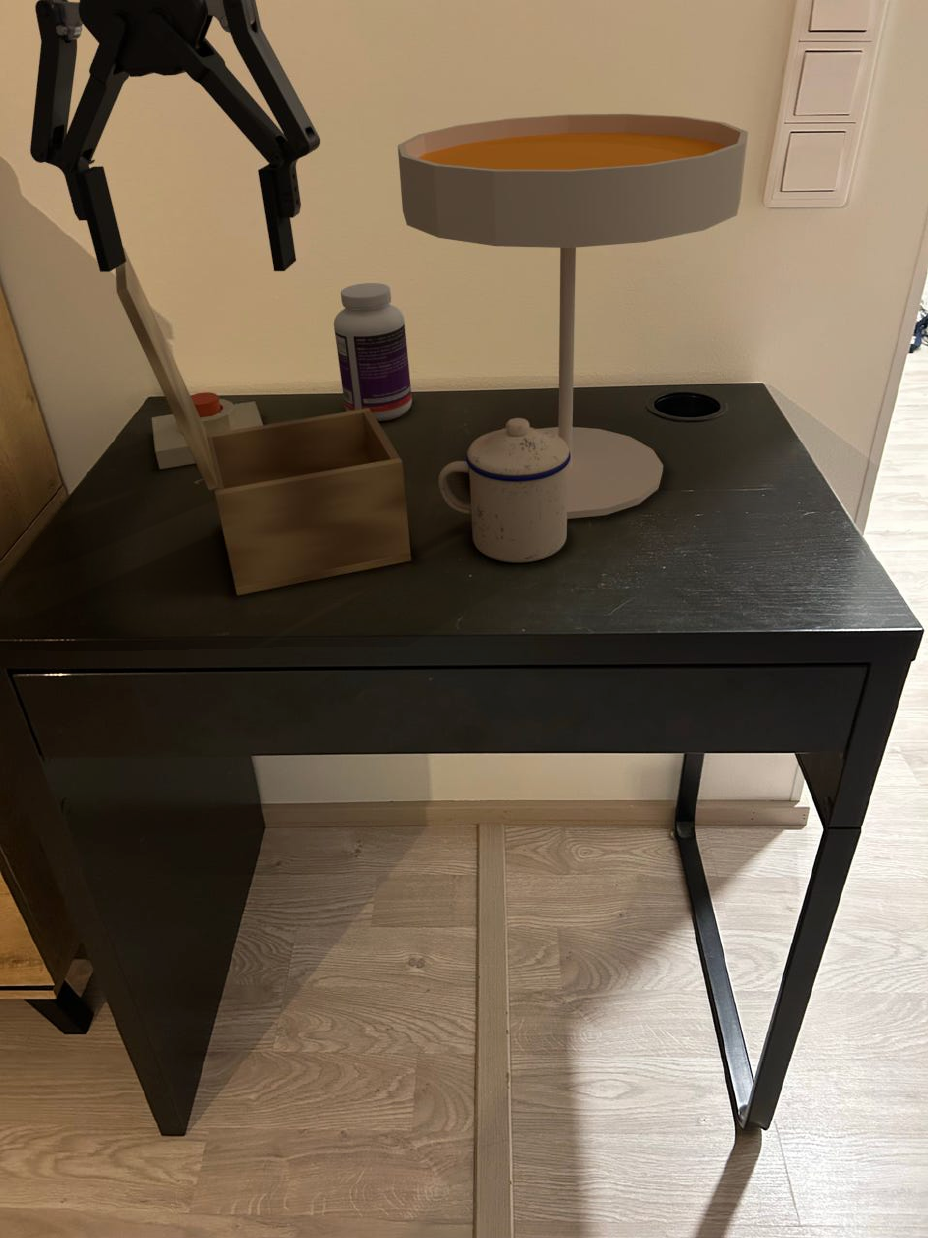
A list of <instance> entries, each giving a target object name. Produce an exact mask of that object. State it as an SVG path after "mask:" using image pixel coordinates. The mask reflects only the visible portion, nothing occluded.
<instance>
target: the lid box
mask: <svg viewBox="0 0 928 1238" xmlns="http://www.w3.org/2000/svg"><path fill="white" fill-rule="evenodd" d="M206 436H207V440H208V444H209V449H210V453H211V458H212V462H213V467H214V471H215V475H216V480H217V484H218V488H215V489H213V492H214V497H215V502H216V507H217V510H218V511H217V512H218V516H219V520H220V525H221V529H222V534H223V538H224V543H225V547H226V552H227V557H228V561H229V565H230V570H231V574H232V579H233V584H234V590H235V593H236V596H242V595H249V594H252V593H257V592H261V591H267V590H273V589H277V588H283V587H288V586H292V585H296V584H300V583H307V582H312V581H317V580H321V579H326V578H332V577H336V576H341V575H346V574H352V573H356V572H361V571H367V570H371V569H377V568H381V567H386V566H391V565H396V564H402V563H406V562H411V561H412V554H411V544H410V533H409V522H408V521H409V520H408V511H407V500H406V499H407V498H406V490H405V478H404V467H403V466H404V465H403V461H402V459H401V458H400V456H399V454H398V453H397V451H396V449H395V447H394V446H393V444H392V443H391V441H390V439H389V437H388V436H387V434H386V433H385V431H384V430H383V428H382V426H381V425H380V423H379V421H377V420H376V418H375V417H374V415H373V414H372V412H371V411H370V409H369V408H366V409H360V410H354V411H348V412H347V411H342V412H337V413H330V414H324V415H318V416H317V415H316V416H312V417H306V418H299V419H293V420H288V421H281V422H274V423H267V424H263V425H262V426H256V427H250V428H243V429H237V430H231V431H225V432H219V433H213V434H207V435H206Z"/></svg>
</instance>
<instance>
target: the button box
mask: <svg viewBox="0 0 928 1238" xmlns="http://www.w3.org/2000/svg"><path fill="white" fill-rule="evenodd" d="M219 403H220V408H221V411H220V412H219V413H217V414H215V415H212V416H207V417H200V419H201V421H202V423H203V425H204V427H205V431H206V435H207V434H213V433H219V432H225V431H231V430H237V429H243V428H250V427H256V426H262V425H264V423H263V420H262V417H261V415H260V412H259V409H258V407H257V404H256V401H247V402H241V403H240V402H239V403H233V401H229V400H227V399H224V398H219ZM151 426H152V427H151V428H152V435H153V445H154V452H155V456H156V461H157V465H158V469H159V470H164V469H170V468H171V469H172V468H177V467H183V466H189V465H195V464H196V462H195V460H194V458H193V456H192V453H191V451H190V449H189V447H188V445H187V443H186V440H185V438H184V436H183V434H182V432H181V430H180V428H179V425H178V423H177V421H176V419H175V417H174V415H173V413H171V414H165V415H158V416H152V417H151Z"/></svg>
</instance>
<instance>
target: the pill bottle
mask: <svg viewBox="0 0 928 1238" xmlns="http://www.w3.org/2000/svg"><path fill="white" fill-rule="evenodd" d="M391 293H392V292H391V287H390V286H389V285H387V284H385V283H379V282H365V283H357V284H353V285H349V286H346V287H344V288H343V289H341V291H340V298H341V304H342V306H343V307H344V308H343V309H342V310H341V311H339V312H338V314H337V315H336V316H335V318H334V321H333V329H334V336H335V344H336V350H337V351H336V353H337V358H338V366H339V374H340V381H341V389H342V396H343V403H344V404H343V405H344V409H345V412H348V411H354V410H360V409H366V408H369V409H370V411H371V412H372V414H373V415H374V417H375V418H376V420H377V422H386V421H392V420H394V419H397V418H399V417H402V416H403V415H404V414H406V413H407V412H408V411H409V409H410V408H411V406H412V404H413V397H412V388H411V379H410V367H409V366H410V365H409V357H408V356H409V355H408V344H407V336H406V335H407V334H406V323H405V317H404V314H403V312H402V311H401V310H400V309H399V308H398V307H396V306H394V305H392V304H391V302H392V294H391Z"/></svg>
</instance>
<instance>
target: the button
mask: <svg viewBox="0 0 928 1238" xmlns="http://www.w3.org/2000/svg"><path fill="white" fill-rule="evenodd" d="M190 396H191V398H192V401H193V403H194V405H195V407H196V410H197V412H198V414H199V416H200V417H207V416H212V415H215V414H217V413H219V412H220V411H221V408H220V403H219V399H220V398H219V395H218V394H217V393H215V392H209V391H208V392H207V391H203V392H198V393H194V394H190Z"/></svg>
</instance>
